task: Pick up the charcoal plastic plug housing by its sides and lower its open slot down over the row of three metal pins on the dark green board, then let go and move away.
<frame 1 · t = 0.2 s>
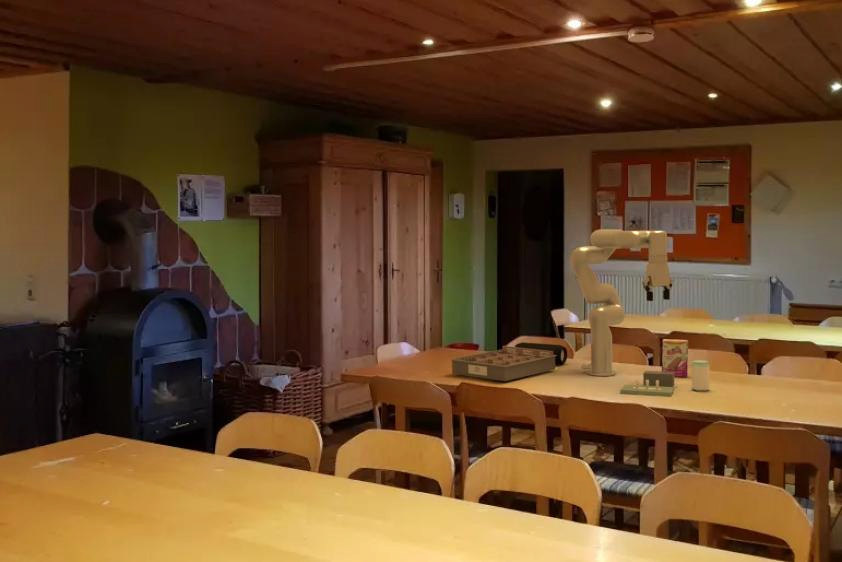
hand: (658, 300, 363), 36 cm above the table, tool pointing down, fingers open, 9 cm apart
candy bar box: (674, 376, 385), on the table
plug housing: (658, 386, 362), on the table
pin board: (647, 392, 350), on the table
organizer tray: (504, 374, 398), on the table
portable speaker: (540, 363, 426), on the table
can: (700, 390, 353), on the table
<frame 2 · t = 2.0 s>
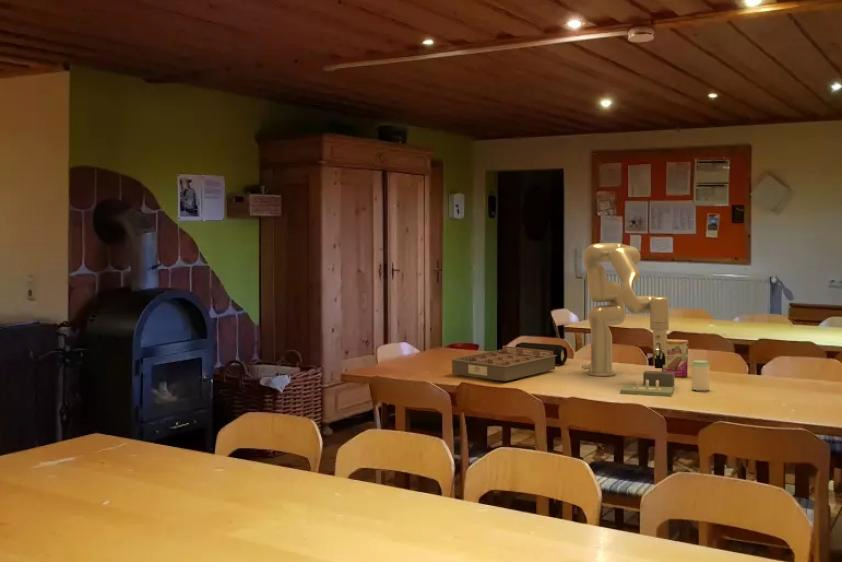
hand: (660, 366, 361), 9 cm above the table, tool pointing down, fingers open, 9 cm apart
nothing on the table moved.
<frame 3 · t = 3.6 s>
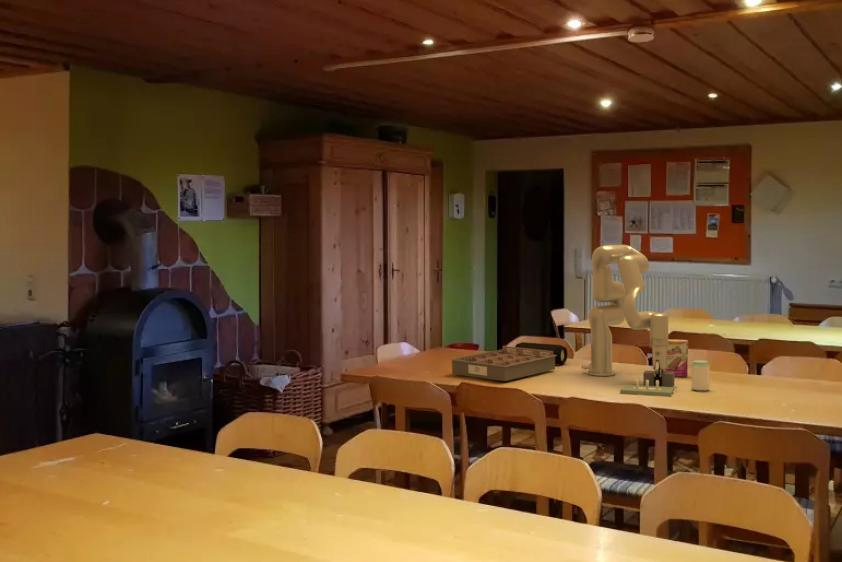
hand: (658, 384, 362), 1 cm above the table, tool pointing down, fingers closed on plug housing, 6 cm apart
plug housing: (658, 386, 362), on the table, touching gripper
everything else where it was.
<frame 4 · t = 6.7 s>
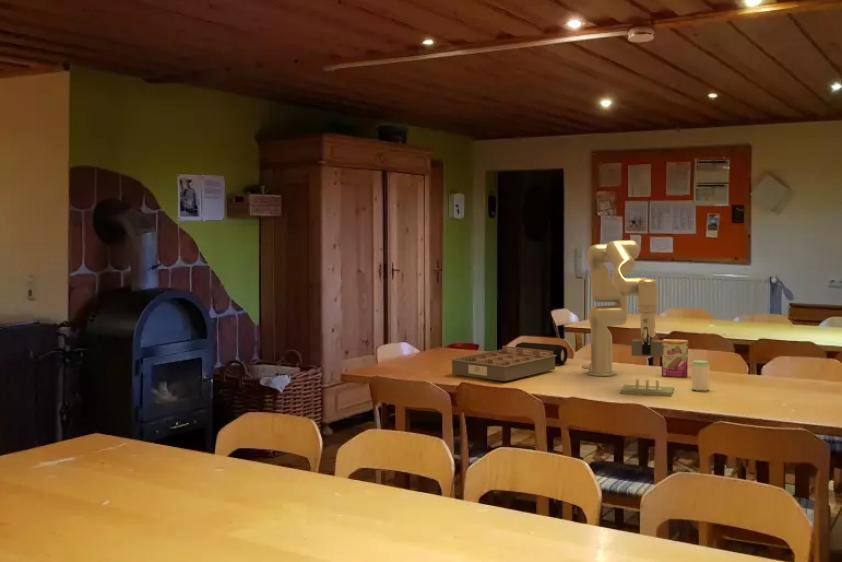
hand: (647, 353, 349), 16 cm above the table, tool pointing down, fingers closed on plug housing, 6 cm apart
plug housing: (647, 355, 349), point 15 cm above the table, touching gripper
everything else where it was.
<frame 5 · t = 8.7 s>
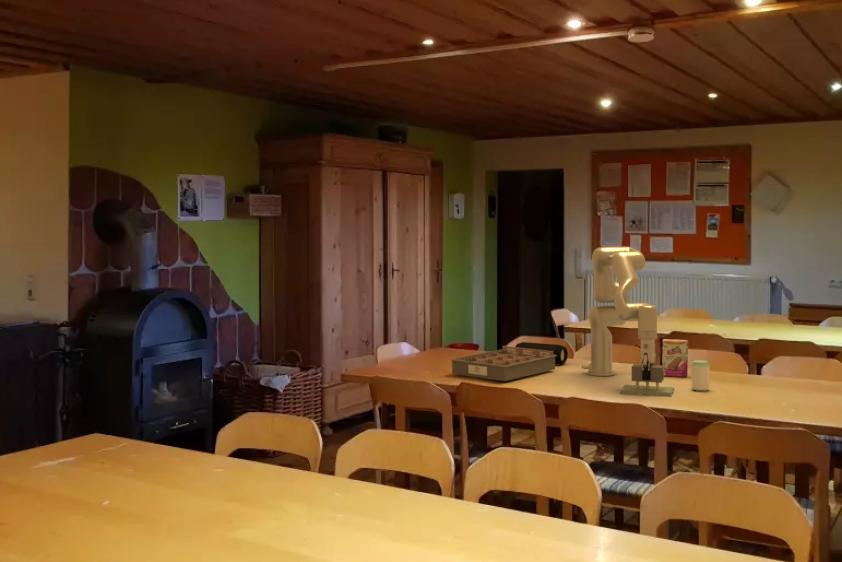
hand: (647, 378, 350), 6 cm above the table, tool pointing down, fingers closed on plug housing, 6 cm apart
plug housing: (647, 380, 350), point 5 cm above the table, touching gripper
everything else where it was.
when the fingers open (4 cm above the table, at t = 10.2 s): plug housing drops 2 cm, resting on pin board.
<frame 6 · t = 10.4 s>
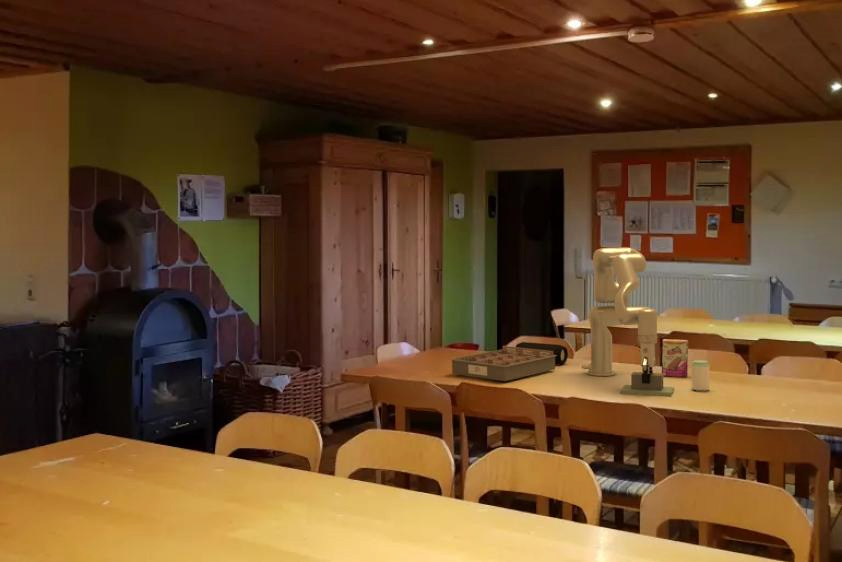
hand: (647, 381, 350), 5 cm above the table, tool pointing down, fingers open, 8 cm apart
plug housing: (647, 388, 350), point 1 cm above the table, touching pin board
everything else where it was.
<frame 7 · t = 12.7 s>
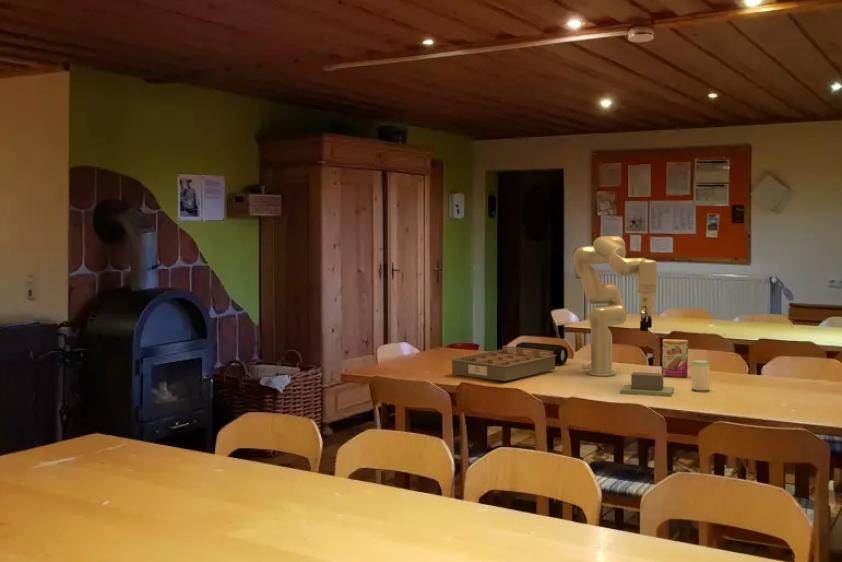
hand: (645, 329, 361), 24 cm above the table, tool pointing down, fingers open, 9 cm apart
nothing on the table moved.
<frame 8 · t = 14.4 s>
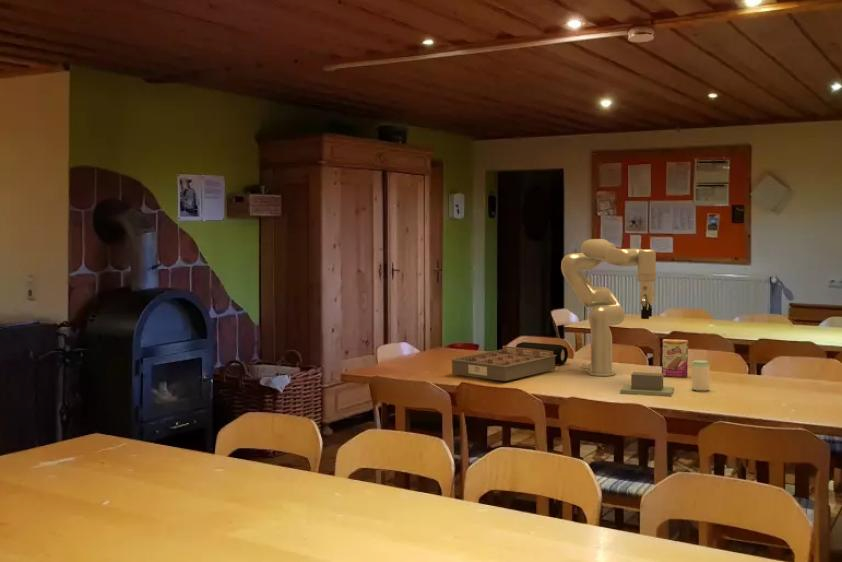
hand: (646, 317, 369), 28 cm above the table, tool pointing down, fingers open, 9 cm apart
nothing on the table moved.
at the end: plug housing 0.1 cm off-centre on the pin board, point 1.5 cm above the pin board's base; plug housing tilted 0°; the gripper is holding nothing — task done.
